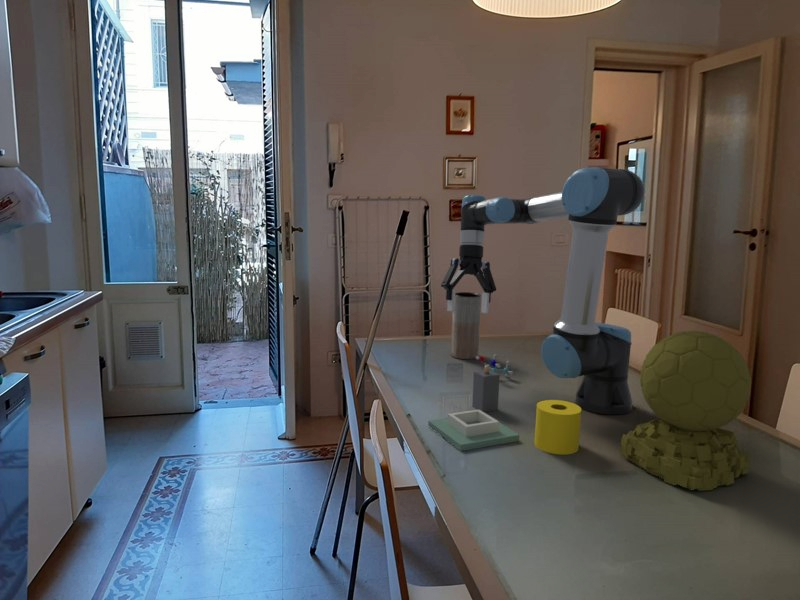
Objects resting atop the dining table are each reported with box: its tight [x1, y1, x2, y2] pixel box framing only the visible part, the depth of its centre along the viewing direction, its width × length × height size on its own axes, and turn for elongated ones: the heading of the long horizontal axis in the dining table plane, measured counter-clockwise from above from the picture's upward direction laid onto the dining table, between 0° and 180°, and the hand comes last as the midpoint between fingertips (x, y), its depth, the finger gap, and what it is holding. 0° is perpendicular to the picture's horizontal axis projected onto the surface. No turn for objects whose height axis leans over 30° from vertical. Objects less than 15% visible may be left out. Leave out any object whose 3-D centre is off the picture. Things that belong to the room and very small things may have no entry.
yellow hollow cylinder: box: [533, 399, 582, 455], centre depth 140 cm, size 10×10×9 cm
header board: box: [427, 409, 520, 452], centre depth 147 cm, size 16×16×4 cm
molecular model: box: [475, 353, 514, 378], centre depth 193 cm, size 12×10×10 cm
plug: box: [471, 364, 500, 413], centre depth 164 cm, size 5×5×12 cm
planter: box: [450, 291, 482, 360], centre depth 217 cm, size 10×10×23 cm
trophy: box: [620, 330, 752, 492], centre depth 129 cm, size 22×22×30 cm
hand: (467, 312), depth 190 cm, fingers open, 13 cm apart
